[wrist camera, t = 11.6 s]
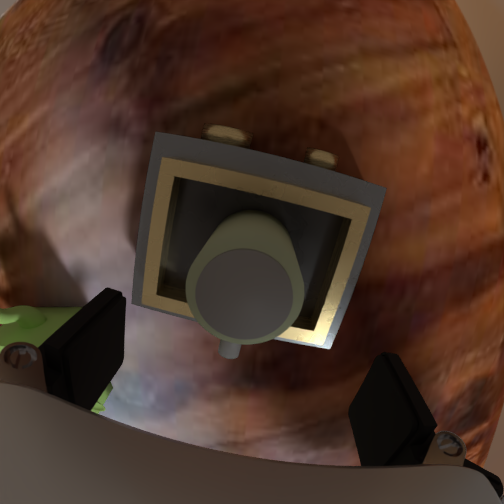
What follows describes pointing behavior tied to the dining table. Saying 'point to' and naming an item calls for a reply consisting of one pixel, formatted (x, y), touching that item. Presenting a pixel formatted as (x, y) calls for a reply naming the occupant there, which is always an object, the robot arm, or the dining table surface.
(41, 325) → the kettle
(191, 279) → the pale green cup
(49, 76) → the dining table surface
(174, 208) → the toy stove
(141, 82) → the dining table surface
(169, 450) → the robot arm
